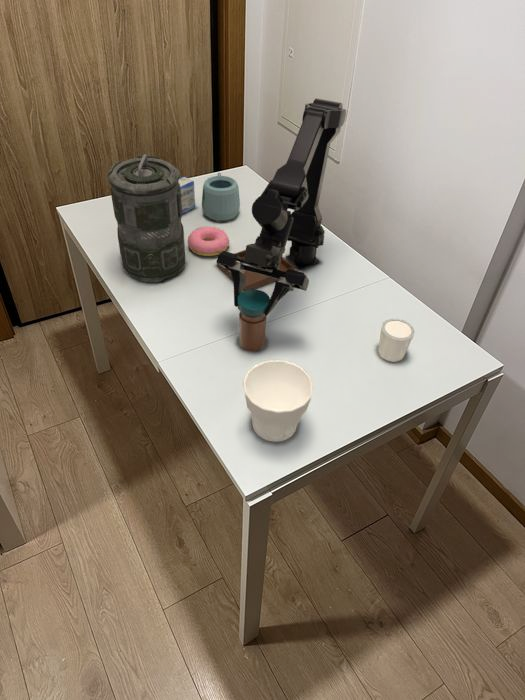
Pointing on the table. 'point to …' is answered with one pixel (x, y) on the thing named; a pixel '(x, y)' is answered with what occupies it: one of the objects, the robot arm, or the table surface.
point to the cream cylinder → (395, 339)
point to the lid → (253, 302)
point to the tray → (257, 279)
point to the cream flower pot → (277, 398)
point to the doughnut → (208, 241)
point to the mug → (220, 198)
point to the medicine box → (187, 194)
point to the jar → (252, 332)
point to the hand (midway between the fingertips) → (250, 310)
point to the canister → (148, 217)
